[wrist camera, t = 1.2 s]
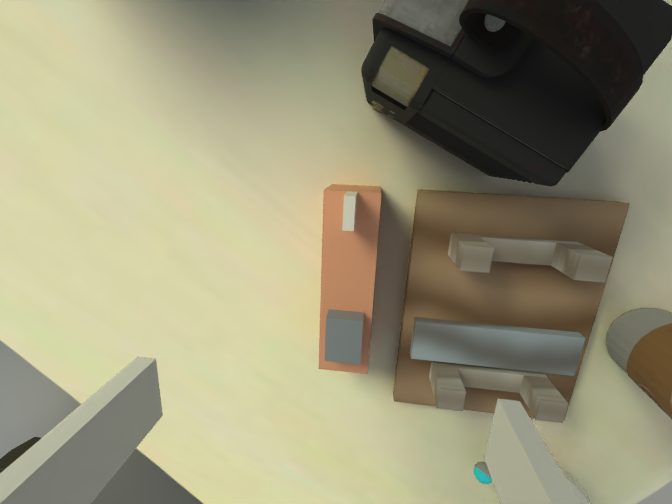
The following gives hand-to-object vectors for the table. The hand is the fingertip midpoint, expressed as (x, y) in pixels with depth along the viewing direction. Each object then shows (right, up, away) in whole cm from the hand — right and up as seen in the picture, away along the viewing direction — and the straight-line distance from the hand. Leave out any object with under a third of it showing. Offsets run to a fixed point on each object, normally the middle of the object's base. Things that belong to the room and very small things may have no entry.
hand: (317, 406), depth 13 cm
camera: (+11, +20, +15) cm, 27 cm away
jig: (+16, 0, +19) cm, 25 cm away
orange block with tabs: (+2, +4, +20) cm, 21 cm away
